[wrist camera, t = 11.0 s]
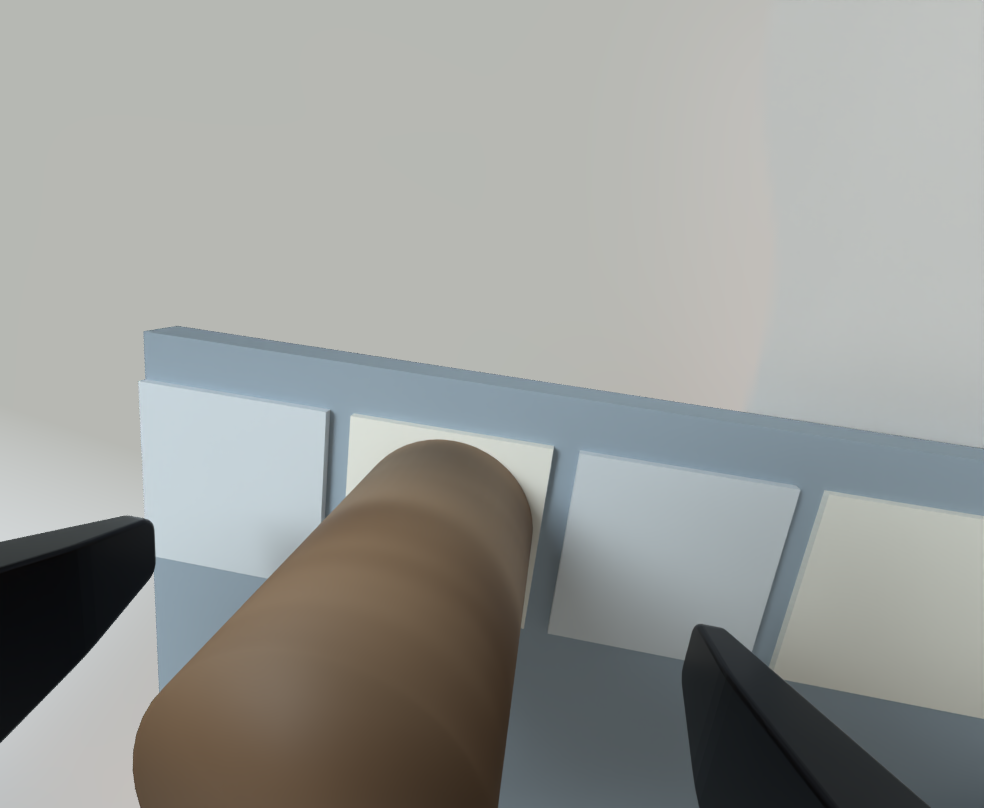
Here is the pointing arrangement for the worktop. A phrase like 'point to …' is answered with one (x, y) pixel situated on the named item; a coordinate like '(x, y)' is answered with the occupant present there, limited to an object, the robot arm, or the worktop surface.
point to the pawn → (361, 655)
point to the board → (601, 551)
